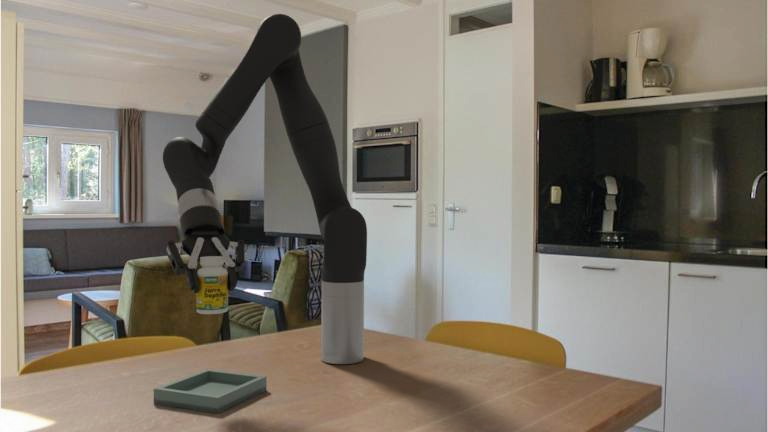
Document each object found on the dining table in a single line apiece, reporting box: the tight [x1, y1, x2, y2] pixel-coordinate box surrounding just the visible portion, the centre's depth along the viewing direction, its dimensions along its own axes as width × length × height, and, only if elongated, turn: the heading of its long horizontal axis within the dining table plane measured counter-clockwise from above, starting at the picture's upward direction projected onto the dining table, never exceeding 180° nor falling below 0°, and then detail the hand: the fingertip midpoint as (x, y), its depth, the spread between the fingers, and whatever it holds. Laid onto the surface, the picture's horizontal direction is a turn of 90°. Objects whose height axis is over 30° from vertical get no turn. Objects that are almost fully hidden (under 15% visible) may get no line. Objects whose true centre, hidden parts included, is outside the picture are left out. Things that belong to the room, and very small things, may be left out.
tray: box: [153, 368, 268, 414], centre depth 108 cm, size 14×13×2 cm
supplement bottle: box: [195, 256, 229, 315], centre depth 108 cm, size 5×5×10 cm
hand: (214, 288), depth 106 cm, fingers closed on supplement bottle, 5 cm apart
